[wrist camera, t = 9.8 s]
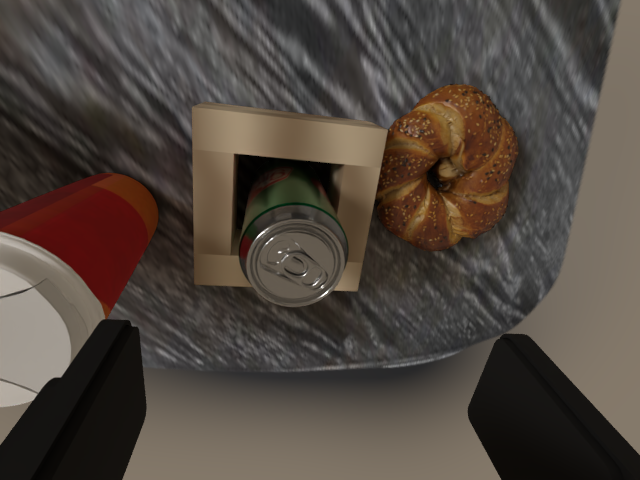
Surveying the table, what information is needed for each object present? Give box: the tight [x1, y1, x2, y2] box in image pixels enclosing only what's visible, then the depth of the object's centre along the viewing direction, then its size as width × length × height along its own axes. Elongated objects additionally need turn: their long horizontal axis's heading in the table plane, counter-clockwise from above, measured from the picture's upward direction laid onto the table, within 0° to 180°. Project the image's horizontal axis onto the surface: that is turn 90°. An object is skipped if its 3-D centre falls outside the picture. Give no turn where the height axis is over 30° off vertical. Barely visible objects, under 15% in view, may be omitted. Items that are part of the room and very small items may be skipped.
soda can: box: [239, 158, 349, 307], centre depth 21 cm, size 5×5×12 cm
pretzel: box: [375, 84, 518, 251], centre depth 26 cm, size 12×11×4 cm
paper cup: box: [0, 173, 159, 407], centre depth 19 cm, size 8×8×14 cm
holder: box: [192, 102, 388, 291], centre depth 25 cm, size 11×11×4 cm
